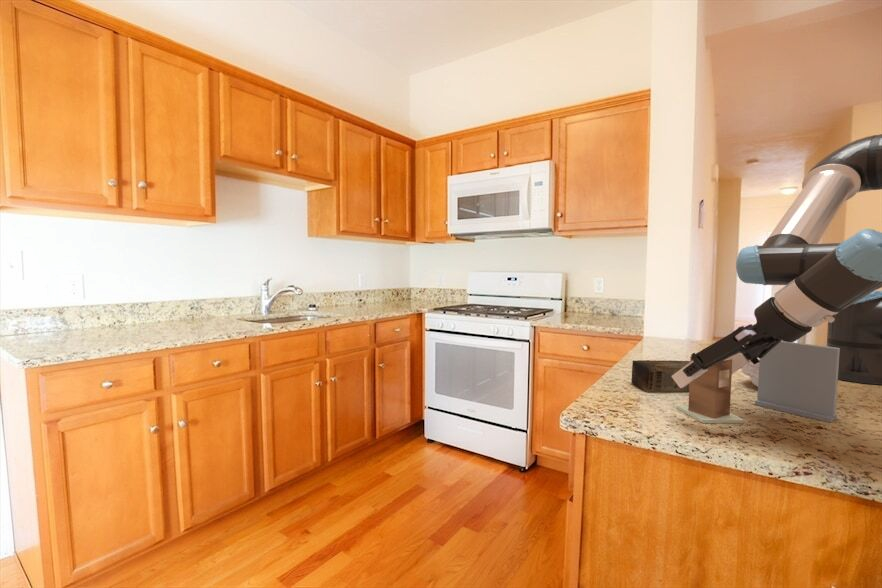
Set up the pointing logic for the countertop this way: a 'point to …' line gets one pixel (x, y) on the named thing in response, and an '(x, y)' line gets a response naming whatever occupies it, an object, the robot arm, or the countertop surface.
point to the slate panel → (800, 380)
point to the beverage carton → (657, 375)
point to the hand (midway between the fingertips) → (698, 377)
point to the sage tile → (705, 419)
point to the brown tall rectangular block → (712, 391)
